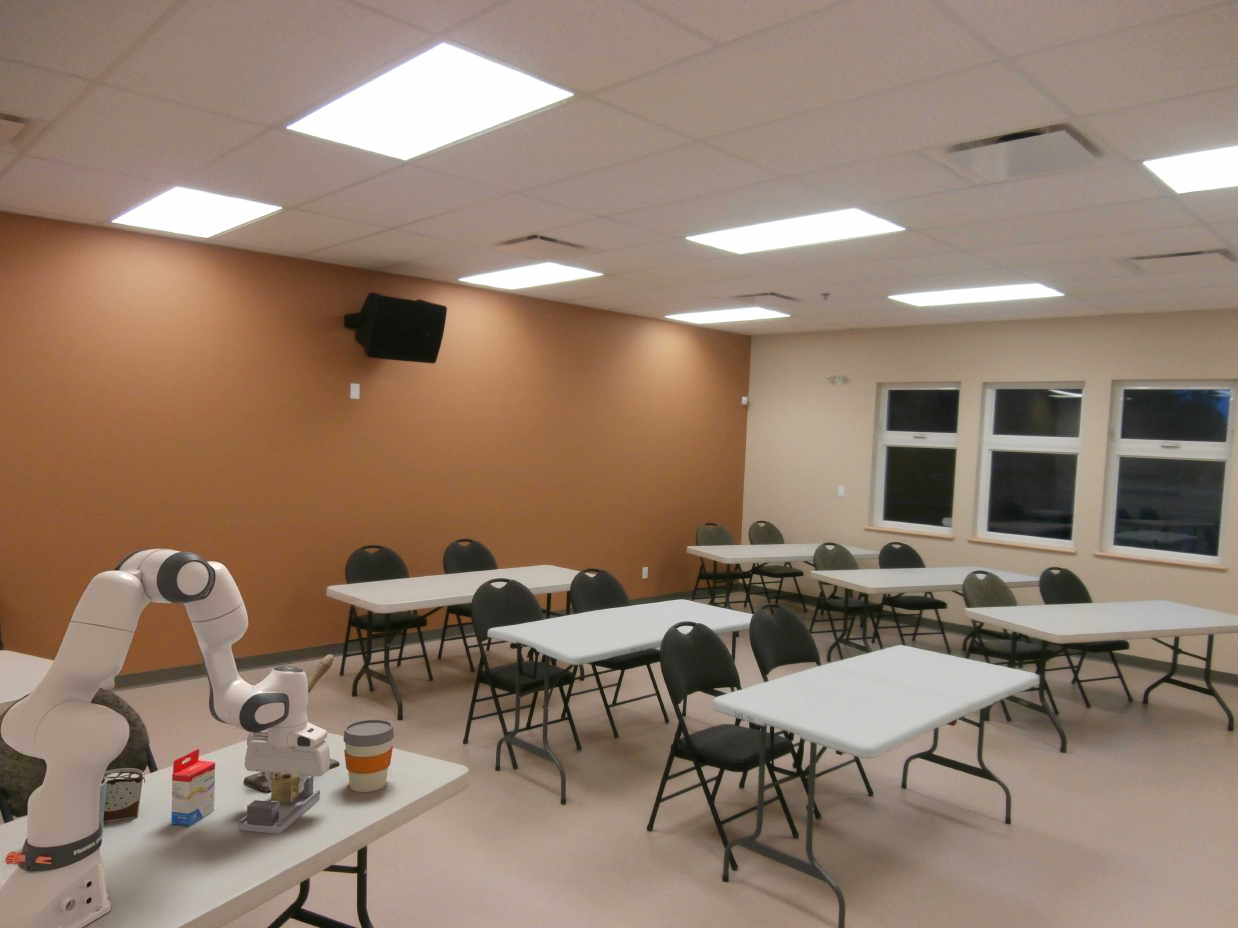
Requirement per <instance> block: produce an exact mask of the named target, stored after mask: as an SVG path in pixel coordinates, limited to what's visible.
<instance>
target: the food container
mask: <svg viewBox="0 0 1238 928" xmlns="http://www.w3.org/2000/svg"><path fill="white" fill-rule="evenodd" d="M104 777H105V778H107V787H106V794H105V805H104V818H103V823H108V822H115V821H122V820H123V821H124V820H131V819H137V818H139V811H140V810H139V809H140V804H141V795H142V786H143V783H144V784H146V782H147V781H146V777H145V774H144V772H143V770H141V769H138V768H135V767H134V768H133V767H131V768H130V767H129V768H128V767H124V768H123V767H122V768H115V769H110V770H106V771H105V774H104Z"/></svg>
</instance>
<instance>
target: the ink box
mask: <svg viewBox="0 0 1238 928" xmlns="http://www.w3.org/2000/svg"><path fill="white" fill-rule="evenodd" d="M199 756H200V749H199V748H197V749H195V750H193V751H190V752H189V753H186V754H184V755H182V756H180V757H179V758H178V757H177V758H176V759H175V760H174V761H173V763H172V773H171V825H179V826H188V827H189V826H191V825H193V824H194V823H197V822H198V821H199V820H201V819H203V818H205V817H206V816H208V815H210V814H211V813H213V812H214V811H215V789H216V788H215V786H216V784H215V783H216V781H215V780H216V761H215V762H214V761H209V760H199V759H200V757H199ZM186 759H189V760H187V761H186ZM184 761H185V762H184Z"/></svg>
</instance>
